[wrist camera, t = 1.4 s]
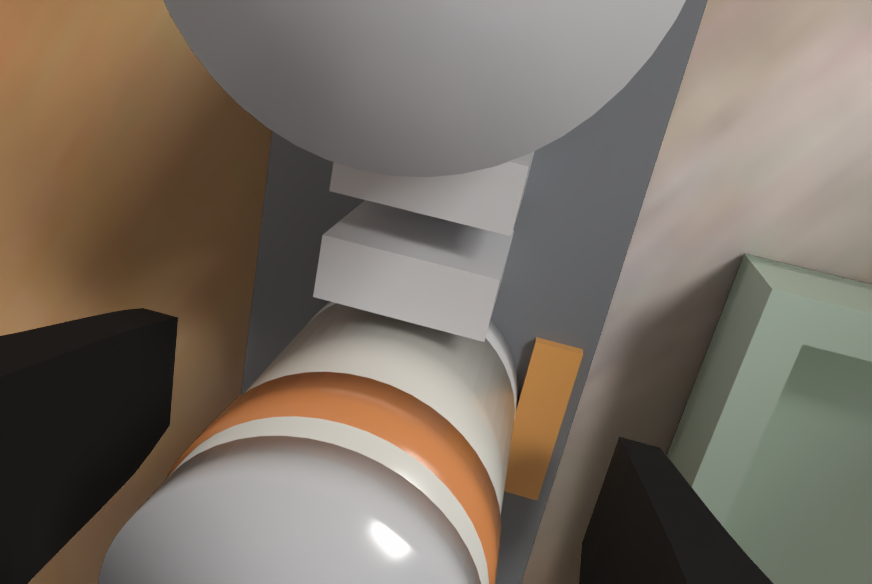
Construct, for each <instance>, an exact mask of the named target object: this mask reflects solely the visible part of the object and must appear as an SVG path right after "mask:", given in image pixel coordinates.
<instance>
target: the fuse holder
mask: <svg viewBox="0 0 872 584" xmlns="http://www.w3.org/2000/svg"><path fill="white" fill-rule="evenodd" d="M706 4H707V0H686V1H685V3H684V5H683V7H682V9H681V11H680V13H679V15H678V17H677V18H676V20H675V22H674V23H673V25H672V26H671V28H670V29H669V31H668V32H667V34H666V35H665V37H664V38H663V39H662V41H661V42H660V44H659V45H658V47H657V48H656V50H655V51H654V53H653V54H652V56H651V57H650V58H649V59H648V60H647V61H646V63H645V64H644V65H643V66H642V67H641V68H640V70H639V71H638V72H637V73H636V74H635V75H634V76H633V78H632V79H631V80H630V81H629V82H628V83H627V85H626V86H625V87H624V88H623V89H622V90H621V91H619V92H618V93H617V94H616V95H615V96H614V97H613V98H612V99H611V100H609V101H608V102H607V103H606V104H605V105H604V106H603V107H602V108H601V109H600V110H598V111H597V112H596V113H595V114H594V115H592V116H591V117H590V118H588V119H587V120H585V121H584V122H582V123H581V124H580V125H578V126H577V127H575V128H574V129H572V130H571V131H570V132H568V133H567V134H565V135H564V136H562V137H561V138H559V139H557V140H555V141H553V142H551V143H549V144H547V145H545V146H543V147H542V148H540V149H538V150H536V151H534V152H532V153H530V154H528V155H525V156H522V157H520V158H517V159H514V160H511V161H509V162H506V163H503V164H501V165H498V166H495V167H491V168H486V169H482V170H477V171H473V172H469V173H464V174H458V175H447V176H436V177H407V176H390V175H385V174H379V173H373V172H368V171H362V170H358V169H354V168H351V167H348V166H345V165H342V164H339V163H335V162H332V161H329V160H326V159H324V158H322V157H320V156H318V155H315V154H313V153H311V152H309V151H307V150H305V149H302V148H300V147H298V146H296V145H294V144H293V143H291V142H289V141H288V140H286V139H285V138H283V137H281V136H280V135H278V134H277V133H275V132H273V131H272V138H271V147H270V155H269V163H268V172H267V180H266V189H265V197H264V205H263V214H262V222H261V231H260V239H259V247H258V256H257V264H256V273H255V281H254V290H253V298H252V306H251V315H250V323H249V332H248V340H247V348H246V357H245V365H244V374H243V382H242V390H241V395H242V394H244V393H245V392H246V391H247V389H248V388H249V387H250V386H251V385H252V384H253V383H254V382H255V381H256V380H257V378H258V377H259V376H260V375H261V374H262V373H263V372H264V371H265V370H266V369H267V367H268V366H269V365H270V364H271V363H272V362H273V361H274V360H275V359H276V358H277V356H278V355H279V354H280V353H281V352H282V351H283V350H284V349H285V348H286V347H287V345H288V344H289V343H290V342H291V341H292V340H293V339H294V338H295V337H296V336H297V334H298V333H299V332H300V331H301V330H302V329H303V328H304V327H305V326H306V325H307V323H308V322H309V321H310V320H311V319H312V318H313V317H314V316H315V315H316V314H317V312H318V311H319V310H320V309H321V308H322V307H323V306H324V305H325V304H326V303H327V302H328V301H331V302H334V303H338V304H342V305H346V306H349V307H353V308H357V309H361V310H365V311H368V312H372V313H376V314H380V315H384V316H387V317H391V318H395V319H399V320H403V321H406V322H410V323H414V324H418V325H422V326H425V327H429V328H433V329H437V330H440V331H444V332H448V333H452V334H456V335H459V336H463V337H467V338H471V339H475V340H478V341H482V342H484V341H485V338H486V334H487V331H488V327H489V323H490V320H492V321H493V322H494V324H495V325H496V326H497V328H498V329H499V330H500V332H501V333H502V335H503V337H504V339H505V340H506V342H507V344H508V346H509V348H510V351H511V354H512V356H513V359H514V363H515V367H516V371H517V379H518V399H517V407H516V413H515V420H514V427H513V434H512V441H511V448H510V455H509V461H508V468H507V475H506V482H505V489H504V496H503V503H502V509H501V544H500V551H499V559H498V566H497V573H496V580H495V584H521V581H522V578H523V575H524V572H525V569H526V566H527V563H528V560H529V556H530V553H531V550H532V547H533V544H534V541H535V538H536V535H537V531H538V528H539V525H540V522H541V519H542V516H543V513H544V510H545V506H546V503H547V500H548V497H549V494H550V491H551V488H552V485H553V481H554V478H555V475H556V472H557V469H558V466H559V463H560V460H561V456H562V453H563V450H564V447H565V444H566V441H567V438H568V435H569V431H570V428H571V425H572V422H573V419H574V416H575V413H576V410H577V406H578V403H579V400H580V397H581V394H582V391H583V388H584V385H585V382H586V378H587V375H588V372H589V369H590V366H591V363H592V360H593V357H594V353H595V350H596V347H597V344H598V341H599V338H600V335H601V332H602V328H603V325H604V322H605V319H606V316H607V313H608V310H609V307H610V303H611V300H612V297H613V294H614V291H615V288H616V285H617V282H618V278H619V275H620V272H621V269H622V266H623V263H624V260H625V257H626V253H627V250H628V247H629V244H630V241H631V238H632V235H633V232H634V228H635V225H636V222H637V219H638V216H639V213H640V210H641V207H642V203H643V200H644V197H645V194H646V191H647V188H648V185H649V182H650V179H651V175H652V172H653V169H654V166H655V163H656V160H657V157H658V154H659V150H660V147H661V144H662V141H663V138H664V135H665V132H666V129H667V125H668V122H669V119H670V116H671V113H672V110H673V107H674V104H675V100H676V97H677V94H678V91H679V88H680V85H681V82H682V79H683V75H684V72H685V69H686V66H687V63H688V60H689V57H690V54H691V50H692V47H693V44H694V41H695V38H696V35H697V32H698V29H699V25H700V22H701V19H702V16H703V13H704V10H705V7H706Z"/></svg>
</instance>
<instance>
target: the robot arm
mask: <svg viewBox="0 0 872 584" xmlns="http://www.w3.org/2000/svg"><path fill="white" fill-rule="evenodd" d="M177 323H178V318H177V317H174V316H170V315H166V314H162V313H159V312H155V311H151V310H148V309H144V308H140V309H130V310H123V311H117V312H111V313H106V314H101V315H96V316H92V317H87V318H82V319H78V320H73V321H69V322H64V323H60V324H55V325H51V326H46V327H42V328H37V329H33V330H28V331H23V332H19V333H14V334H9V335H4V336H0V584H28V582H29V581H30V580H31V579H32V578H33V577H34V576H35V575H36V574H37V573H38V572H39V571H40V570H41V569H42V568H43V567H44V566H45V565H46V564H47V563H48V562H49V561H50V560H51V559H52V558H53V557H54V556H55V555H56V554H57V553H58V551H59V550H60V549H61V548H62V547H63V546H64V545H65V544H66V543H67V542H68V541H69V540H70V539H71V538H72V537H73V536H74V535H75V534H76V533H77V532H78V531H79V530H80V529H81V528H82V527H83V526H84V525H85V524H86V523H87V522H88V521H89V520H90V519H91V518H92V517H93V516H94V515H95V514H96V513H97V512H98V511H99V510H100V509H101V508H102V507H103V506H104V505H105V504H106V503H107V502H108V501H109V499H110V498H111V497H112V496H113V495H114V494H115V493H116V492H117V491H118V490H119V489H120V488H121V487H122V486H123V485H124V484H125V483H126V482H127V481H128V480H129V479H130V478H131V476H132V475H133V474H134V473H135V472H136V471H137V469H138V468H139V467H140V465H141V464H142V463H143V462H144V460H145V459H146V458H147V456H148V455H149V454H150V452H151V451H152V450H153V448H154V447H155V445H156V444H157V442H158V441H159V440H160V438H161V437H162V435H163V434H164V432H165V431H166V430H167V428H168V427H169V425H170V412H171V400H172V387H173V374H174V362H175V349H176V336H177ZM579 584H773V583H772V581H771V580H770V579H769V578H768V577H767V576H766V575H765V574H764V573H763V572H762V571H761V569H760V568H759V567H758V566H757V565H756V564H755V563H754V562H753V561H752V560H751V559H750V557H749V556H748V555H747V554H746V553H745V552H744V551H743V549H742V548H741V547H740V546H739V545H738V544H737V543H736V541H735V540H734V539H733V538H732V537H731V535H730V534H729V533H728V532H727V531H726V529H725V528H724V527H723V526H722V525H721V523H720V522H719V521H718V520H717V519H716V517H715V516H714V515H713V514H712V512H711V511H710V510H709V509H708V507H707V506H706V505H705V504H704V502H703V501H702V500H701V499H700V497H699V496H698V495H697V493H696V492H695V491H694V490H693V488H692V487H691V486H690V484H689V483H688V482H687V481H686V479H685V478H684V477H683V475H682V474H681V473H680V472H679V470H678V469H677V468H676V467H675V465H674V464H673V463H672V462H671V460H670V459H669V458H668V457H667V456H666V454H665V453H664V452H663V451H662V450H661V449H660V448H658V447H655V446H651V445H647V444H643V443H640V442H636V441H632V440H629V439H625V438H621V437H619V440H618V443H617V446H616V448H615V451H614V454H613V457H612V460H611V463H610V466H609V468H608V471H607V474H606V477H605V480H604V483H603V485H602V488H601V491H600V494H599V497H598V500H597V503H596V505H595V508H594V511H593V514H592V517H591V520H590V522H589V525H588V528H587V531H586V534H585V537H584V540H583V542H582V554H581V567H580V582H579Z"/></svg>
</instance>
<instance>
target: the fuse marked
mask: <svg viewBox="0 0 872 584" xmlns="http://www.w3.org/2000/svg"><path fill="white" fill-rule="evenodd" d="M517 399H518V379H517V371H516V367H515V363H514V359H513V356H512V354H511V351H510V348H509V346H508V344H507V342H506V340H505V339H504V337H503V335H502V333H501V332H500V330H499V329H498V328H497V326H496V325H495V324H494V322H493V321H492V320H490V323H489V327H488V331H487V334H486V338H485V341H484V342H482V341H478V340H475V339H471V338H467V337H463V336H459V335H456V334H452V333H448V332H444V331H440V330H437V329H433V328H429V327H425V326H422V325H418V324H414V323H410V322H406V321H403V320H399V319H395V318H391V317H387V316H384V315H380V314H376V313H372V312H368V311H365V310H361V309H357V308H353V307H349V306H346V305H342V304H338V303H334V302H331V301H328V302H327V303H326V304H325V305H324V306H323V307H322V308H321V309H320V310H319V311H318V312H317V314H316V315H315V316H314V317H313V318H312V319H311V320H310V321H309V322H308V323H307V325H306V326H305V327H304V328H303V329H302V330H301V331H300V332H299V333H298V334H297V336H296V337H295V338H294V339H293V340H292V341H291V342H290V343H289V344H288V345H287V347H286V348H285V349H284V350H283V351H282V352H281V353H280V354H279V355H278V356H277V358H276V359H275V360H274V361H273V362H272V363H271V364H270V365H269V366H268V367H267V369H266V370H265V371H264V372H263V373H262V374H261V375H260V376H259V377H258V378H257V380H256V381H255V382H254V383H253V384H252V385H251V386H250V387H249V388H248V389H247V391H246V392H245V393H244V394H242V395H241V396H239V397H238V398H236V399H235V400H234V401H233V402H232V403H231V404H230V405H229V406H227V407H226V408H225V409H224V410H223V411H222V412H221V413H220V414H219V415H218V416H217V418H216V419H215V420H214V421H213V422H212V423H211V424H210V425H209V426H208V427H207V428H206V429H205V431H204V432H203V433H202V434H201V435H200V436H199V437H198V438H197V439H196V440H195V441H194V442H193V444H192V445H191V446H190V447H189V448H188V449H187V450H186V451H185V452H184V453H183V454H182V456H181V457H180V458H179V460H178V461H177V462H176V463H175V465H174V466H173V467H172V469H171V470H170V472H169V474H168V476H167V478H166V480H165V481H164V482H163V483H162V484H161V485H160V486H159V487H158V488H157V490H156V491H155V492H154V493H153V494H152V495H151V496H150V497H149V498H148V499H147V501H146V502H145V503H144V504H143V505H142V506H141V507H140V508H139V509H138V510H137V512H136V513H135V514H134V515H133V516H132V517H131V518H130V519H129V520H128V521H127V523H126V524H125V525H124V526H123V528H122V529H121V530H120V531H119V533H118V534H117V535H116V537H115V538H114V539H113V541H112V543H111V545H110V547H109V549H108V551H107V553H106V555H105V557H104V561H103V564H102V567H101V571H100V574H99V581H98V584H495V580H496V573H497V566H498V559H499V551H500V544H501V509H502V503H503V496H504V489H505V482H506V475H507V468H508V461H509V455H510V448H511V441H512V434H513V427H514V420H515V413H516V407H517Z"/></svg>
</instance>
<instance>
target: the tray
mask: <svg viewBox="0 0 872 584" xmlns="http://www.w3.org/2000/svg"><path fill="white" fill-rule="evenodd" d="M667 457H668V458H669V459H670V460H671V462H672V463H673V464H674V465H675V467H676V468H677V469H678V470H679V472H680V473H681V474H682V475H683V477H684V478H685V479H686V481H687V482H688V483H689V484H690V486H691V487H692V488H693V490H694V491H695V492H696V493H697V495H698V496H699V497H700V499H701V500H702V501H703V502H704V504H705V505H706V506H707V507H708V509H709V510H710V511H711V512H712V514H713V515H714V516H715V517H716V519H717V520H718V521H719V522H720V523H721V525H722V526H723V527H724V528H725V529H726V531H727V532H728V533H729V534H730V535H731V537H732V538H733V539H734V540H735V541H736V543H737V544H738V545H739V546H740V547H741V548H742V549H743V551H744V552H745V553H746V554H747V555H748V556H749V557H750V559H751V560H752V561H753V562H754V563H755V564H756V565H757V566H758V567H759V568H760V569H761V571H762V572H763V573H764V574H765V575H766V576H767V577H768V578H769V579H770V580H771V581H772V583H773V584H872V284H867V283H863V282H859V281H855V280H851V279H847V278H843V277H839V276H835V275H831V274H826V273H822V272H818V271H814V270H810V269H806V268H802V267H798V266H794V265H790V264H785V263H781V262H777V261H773V260H769V259H765V258H761V257H757V256H753V255H749V254H744V256H743V258H742V261H741V264H740V266H739V269H738V271H737V274H736V277H735V279H734V282H733V284H732V287H731V290H730V292H729V295H728V297H727V300H726V303H725V305H724V308H723V310H722V313H721V316H720V318H719V321H718V323H717V326H716V329H715V331H714V334H713V336H712V339H711V342H710V344H709V347H708V349H707V352H706V355H705V357H704V360H703V362H702V365H701V368H700V370H699V373H698V375H697V378H696V381H695V383H694V386H693V388H692V391H691V394H690V396H689V399H688V401H687V404H686V407H685V409H684V412H683V414H682V417H681V420H680V422H679V425H678V427H677V430H676V433H675V435H674V438H673V440H672V443H671V446H670V448H669V451H668V453H667Z"/></svg>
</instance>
